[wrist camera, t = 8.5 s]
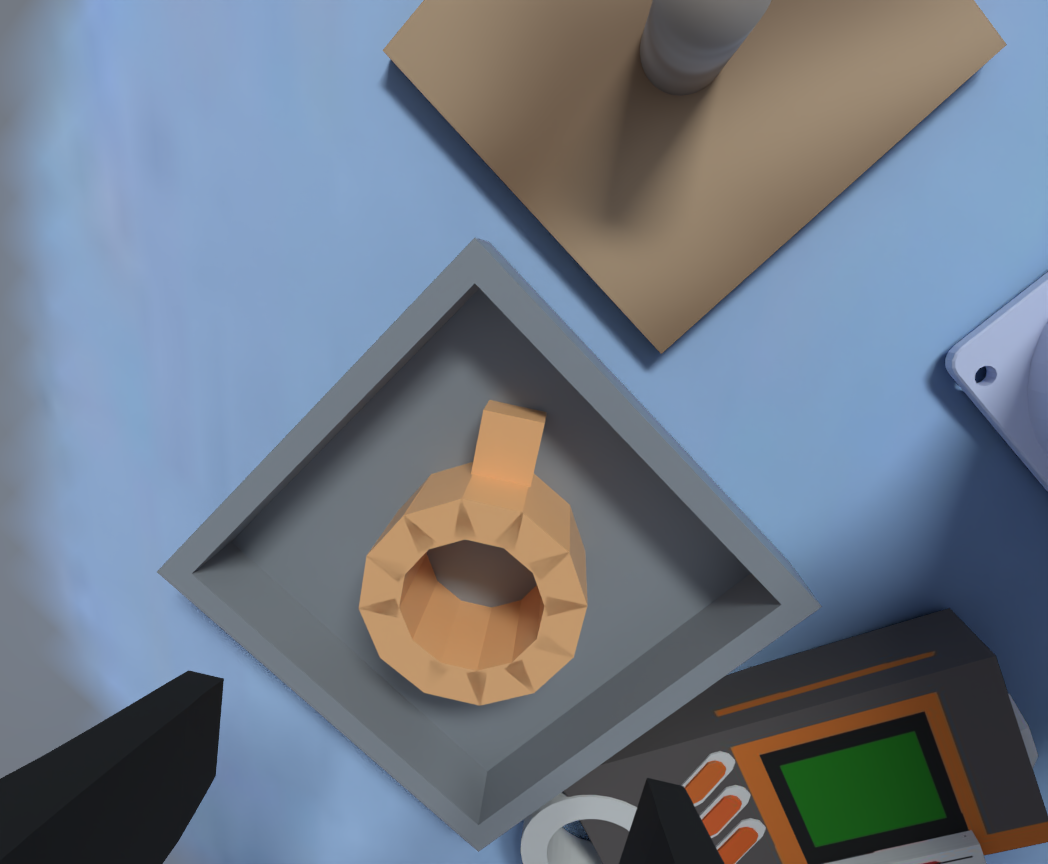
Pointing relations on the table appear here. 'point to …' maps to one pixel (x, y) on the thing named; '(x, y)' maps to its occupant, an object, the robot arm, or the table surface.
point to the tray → (489, 553)
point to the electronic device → (829, 760)
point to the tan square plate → (685, 121)
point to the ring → (495, 519)
